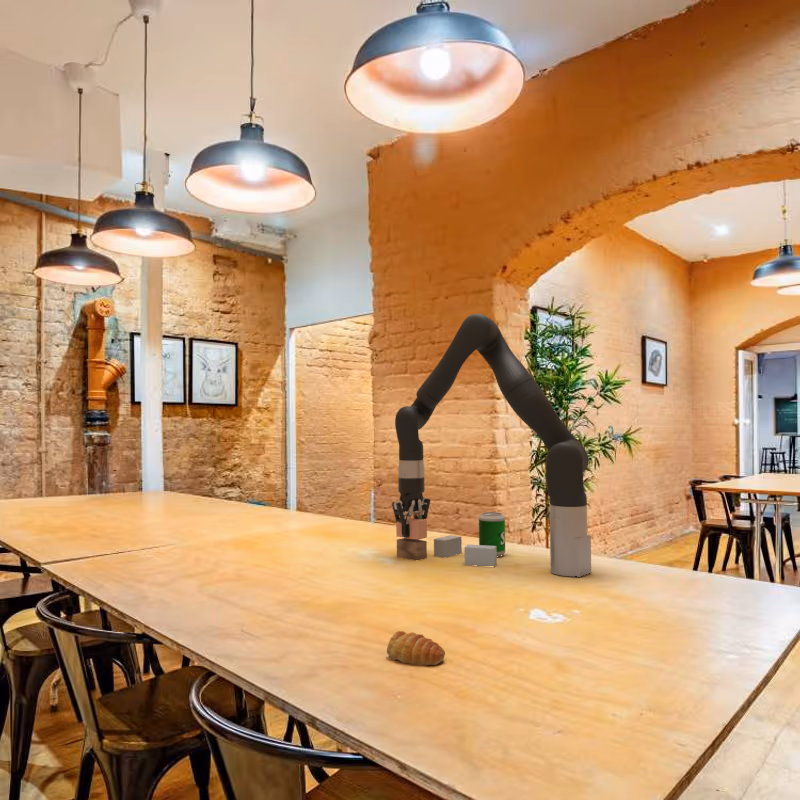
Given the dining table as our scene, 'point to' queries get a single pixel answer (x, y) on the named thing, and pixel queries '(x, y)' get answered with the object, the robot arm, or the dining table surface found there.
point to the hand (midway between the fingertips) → (411, 535)
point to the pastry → (414, 649)
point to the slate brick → (447, 546)
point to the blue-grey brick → (480, 555)
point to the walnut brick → (411, 548)
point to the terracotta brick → (414, 529)
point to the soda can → (492, 531)
